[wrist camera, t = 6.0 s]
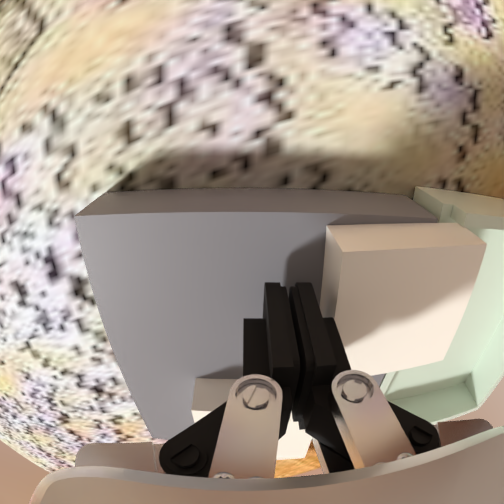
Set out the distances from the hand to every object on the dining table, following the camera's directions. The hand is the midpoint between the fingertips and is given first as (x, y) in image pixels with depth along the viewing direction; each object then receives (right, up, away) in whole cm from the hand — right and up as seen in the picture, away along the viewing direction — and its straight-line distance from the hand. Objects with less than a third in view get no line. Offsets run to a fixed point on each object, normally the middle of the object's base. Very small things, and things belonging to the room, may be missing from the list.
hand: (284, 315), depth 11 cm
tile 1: (+5, +1, +1) cm, 5 cm away
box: (+12, -2, +6) cm, 14 cm away
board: (-1, -2, +5) cm, 6 cm away
